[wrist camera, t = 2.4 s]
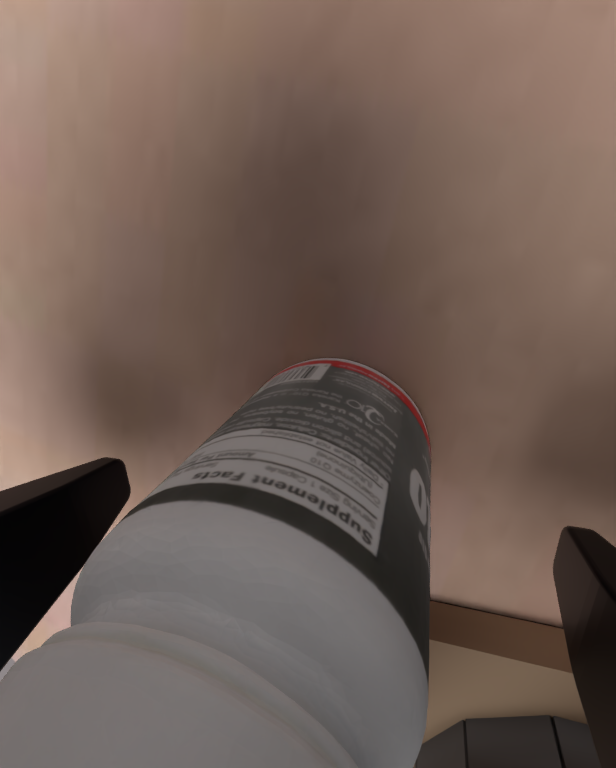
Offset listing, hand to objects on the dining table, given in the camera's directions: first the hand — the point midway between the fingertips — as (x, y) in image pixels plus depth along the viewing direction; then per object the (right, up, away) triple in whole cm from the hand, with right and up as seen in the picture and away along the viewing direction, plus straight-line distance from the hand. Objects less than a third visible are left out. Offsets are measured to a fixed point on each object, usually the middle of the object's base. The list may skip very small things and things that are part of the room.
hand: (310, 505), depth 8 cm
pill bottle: (+1, +1, +3) cm, 3 cm away
